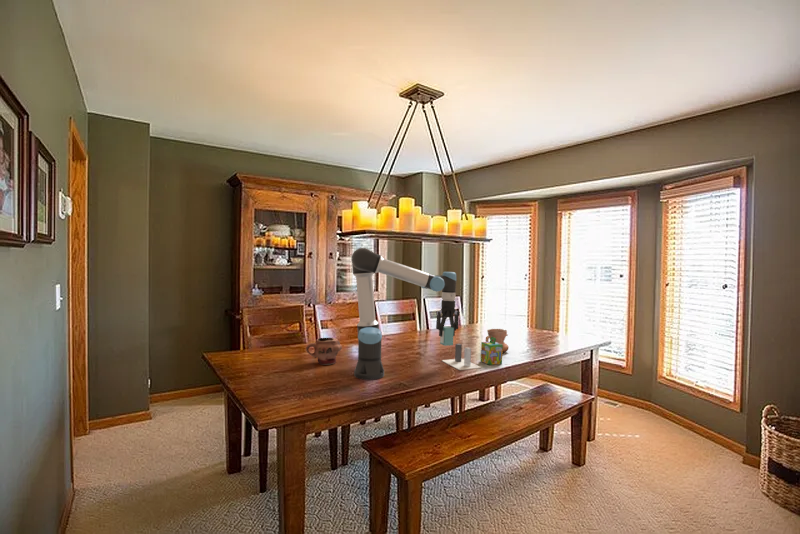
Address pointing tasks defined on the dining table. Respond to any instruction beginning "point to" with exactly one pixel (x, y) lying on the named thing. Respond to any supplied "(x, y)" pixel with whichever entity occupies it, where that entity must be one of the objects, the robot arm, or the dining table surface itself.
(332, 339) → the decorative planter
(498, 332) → the ceramic jug
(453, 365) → the board
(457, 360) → the black post
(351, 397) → the dining table surface
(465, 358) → the steel post
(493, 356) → the chalk box
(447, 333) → the teal rectangular block
